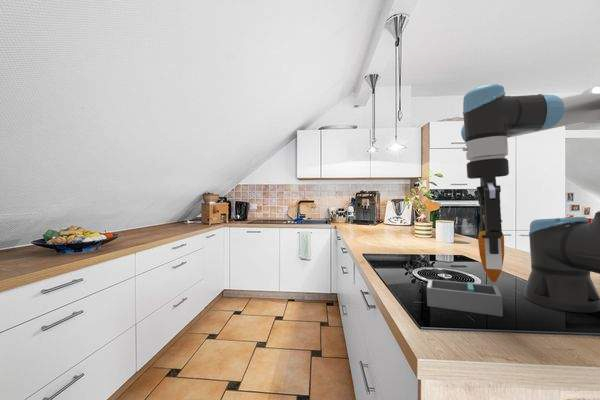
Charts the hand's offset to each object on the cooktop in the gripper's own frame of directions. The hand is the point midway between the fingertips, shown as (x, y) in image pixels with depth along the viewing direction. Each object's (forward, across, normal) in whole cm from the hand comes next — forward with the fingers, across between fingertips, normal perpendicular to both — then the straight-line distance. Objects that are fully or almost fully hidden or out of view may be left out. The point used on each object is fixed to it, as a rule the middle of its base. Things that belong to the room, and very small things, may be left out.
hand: (492, 265), depth 59 cm
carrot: (+4, 0, 0) cm, 4 cm away
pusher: (+14, -15, -4) cm, 21 cm away
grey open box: (+15, -15, -6) cm, 22 cm away
